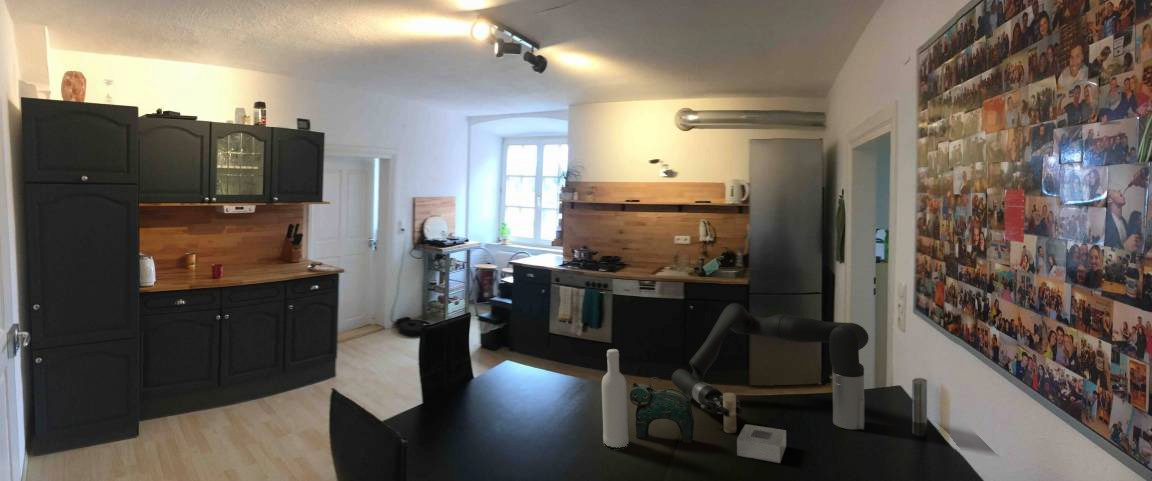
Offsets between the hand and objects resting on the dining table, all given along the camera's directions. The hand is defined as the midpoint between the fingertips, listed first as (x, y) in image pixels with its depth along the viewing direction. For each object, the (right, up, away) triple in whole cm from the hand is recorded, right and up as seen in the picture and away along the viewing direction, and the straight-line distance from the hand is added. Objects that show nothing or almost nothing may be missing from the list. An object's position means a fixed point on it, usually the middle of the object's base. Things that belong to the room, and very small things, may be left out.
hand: (734, 412), depth 180 cm
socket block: (+5, -8, -12) cm, 15 cm away
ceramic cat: (-23, -8, -1) cm, 24 cm away
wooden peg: (0, -7, +3) cm, 8 cm away
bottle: (-38, -9, -4) cm, 40 cm away
